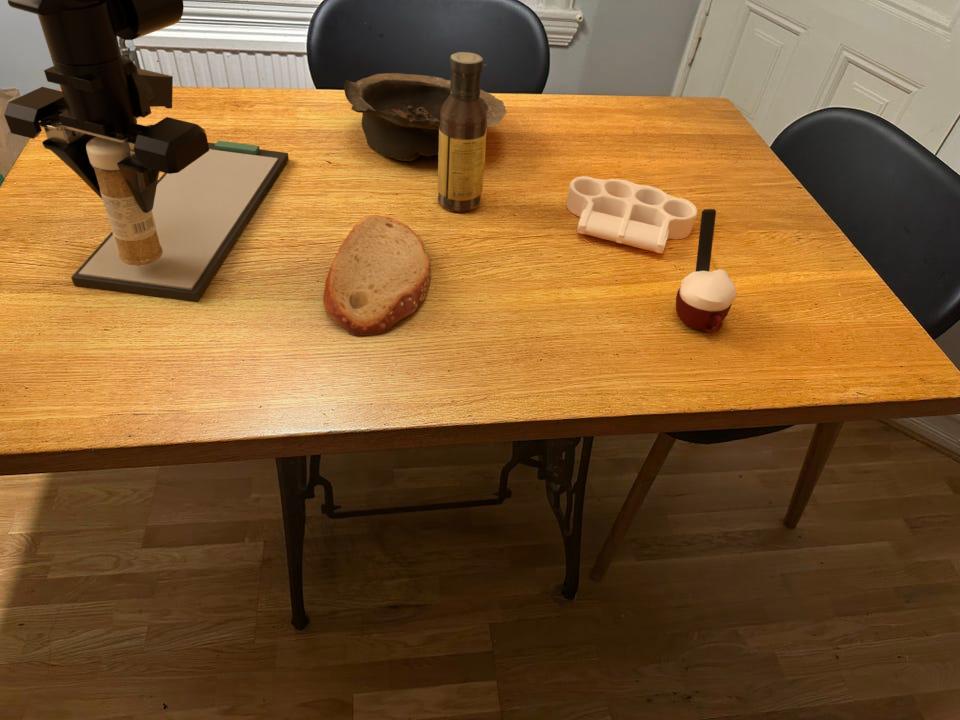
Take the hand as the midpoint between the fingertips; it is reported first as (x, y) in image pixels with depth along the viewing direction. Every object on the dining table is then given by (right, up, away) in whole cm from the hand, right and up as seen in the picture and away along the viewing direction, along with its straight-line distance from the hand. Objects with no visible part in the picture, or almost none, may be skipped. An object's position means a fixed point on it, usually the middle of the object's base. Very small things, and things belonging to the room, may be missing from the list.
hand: (128, 205), depth 74 cm
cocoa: (+63, -11, +10) cm, 65 cm away
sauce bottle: (+34, +6, +24) cm, 42 cm away
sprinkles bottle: (-1, -5, +4) cm, 7 cm away
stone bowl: (+28, +19, +37) cm, 50 cm away
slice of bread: (+24, -6, +10) cm, 27 cm away
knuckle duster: (+58, +3, +24) cm, 63 cm away
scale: (0, +2, +16) cm, 16 cm away
